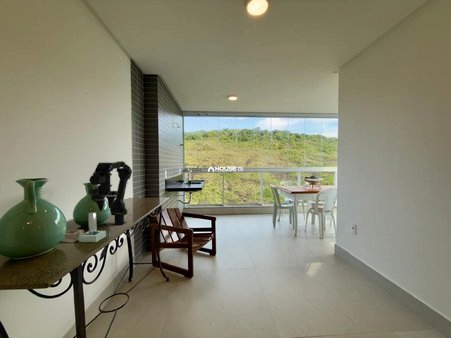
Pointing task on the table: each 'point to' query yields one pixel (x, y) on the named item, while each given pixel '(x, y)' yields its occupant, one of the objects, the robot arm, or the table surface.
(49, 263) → the table surface
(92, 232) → the axle
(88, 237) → the socket block
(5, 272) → the table surface
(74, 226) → the table surface
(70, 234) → the brown square frame
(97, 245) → the table surface
